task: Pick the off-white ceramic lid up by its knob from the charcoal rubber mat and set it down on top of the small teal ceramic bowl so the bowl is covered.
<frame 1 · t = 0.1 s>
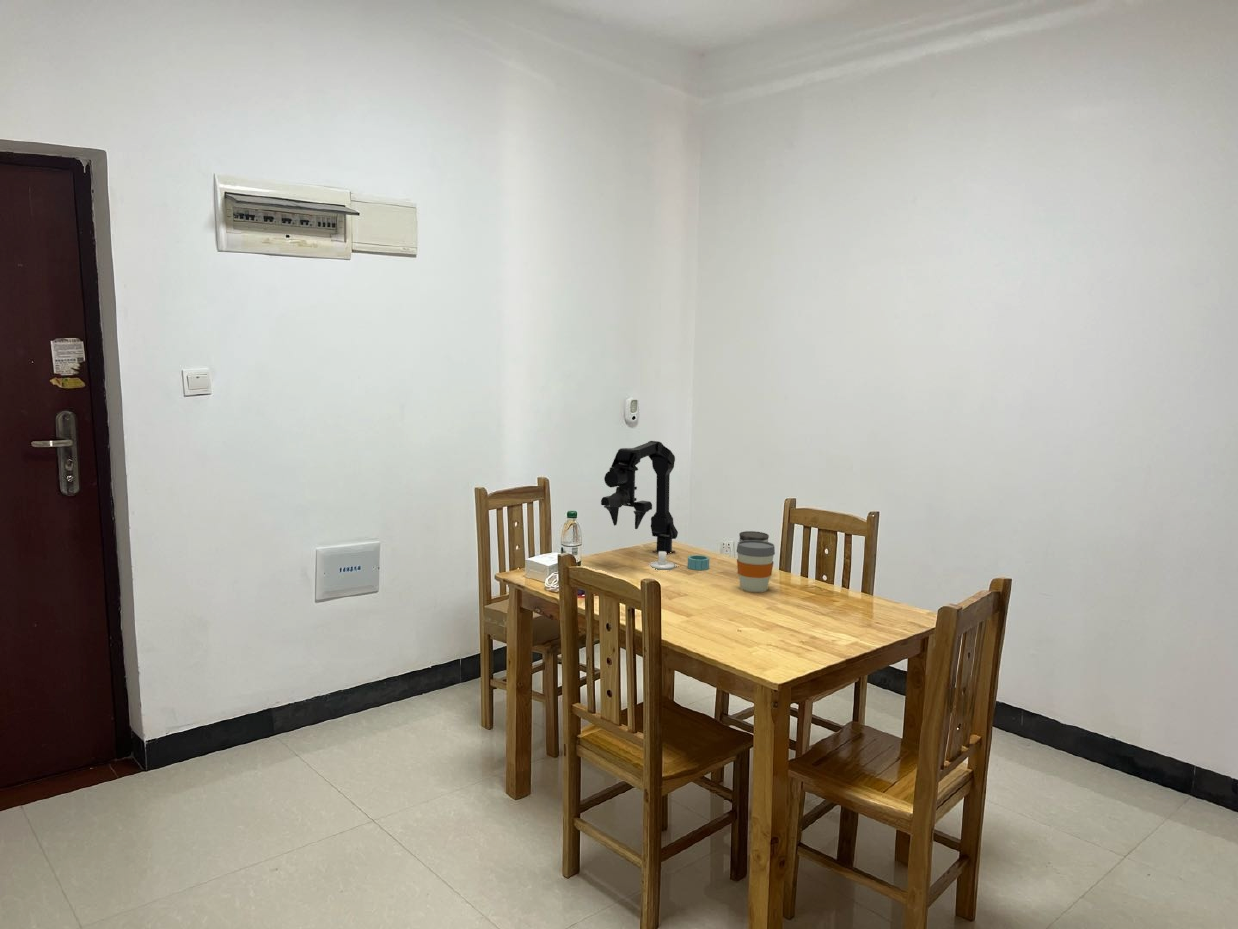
hand: (625, 527, 307), 15 cm above the table, tool pointing down, fingers open, 9 cm apart
lid: (661, 566, 310), resting on mat
reusable coffee cup: (753, 588, 286), on the table
bowl: (698, 568, 310), on the table
mat: (661, 567, 310), on the table
coffee can: (752, 573, 306), on the table
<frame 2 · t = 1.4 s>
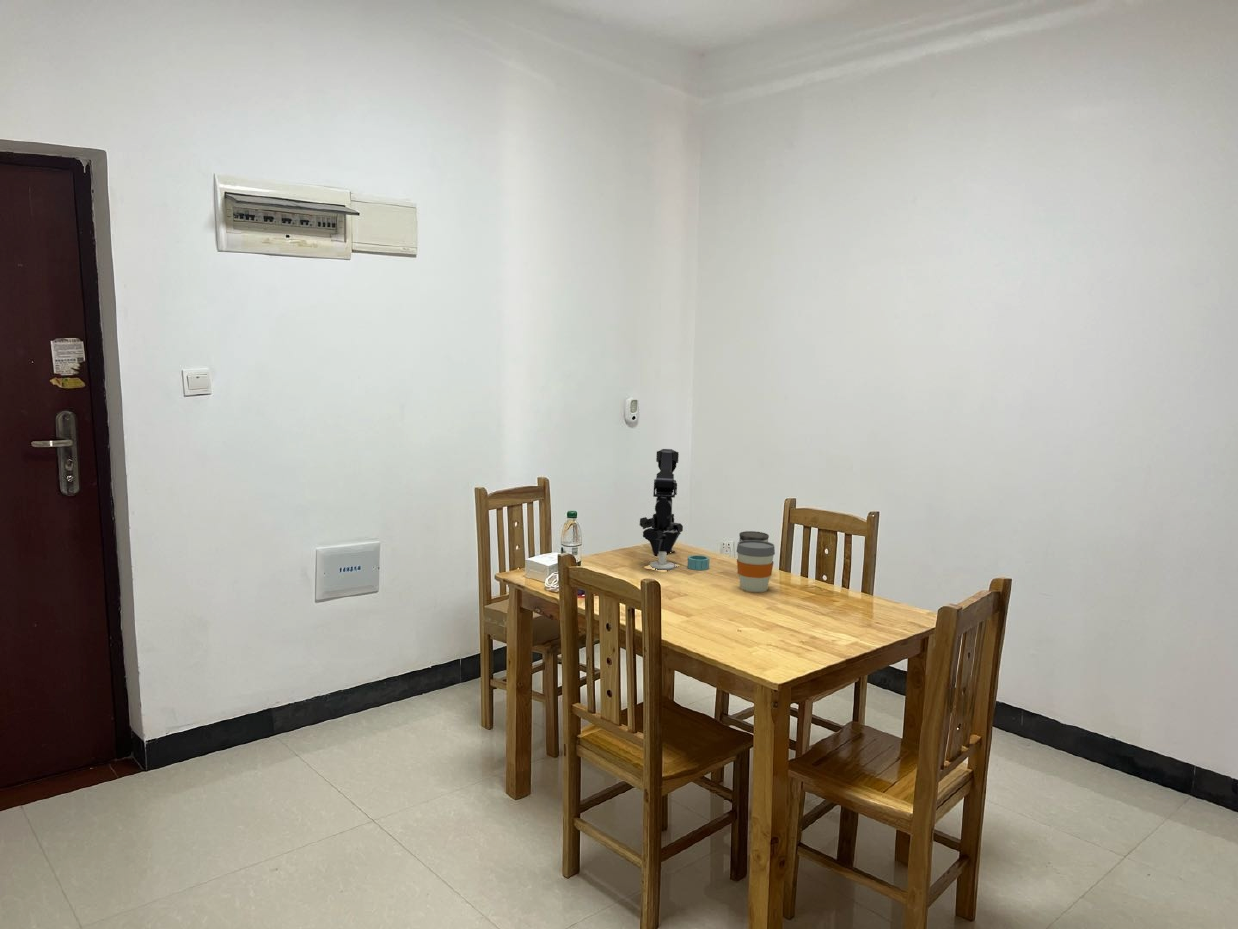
hand: (662, 553, 309), 5 cm above the table, tool pointing down, fingers open, 9 cm apart
nothing on the table moved.
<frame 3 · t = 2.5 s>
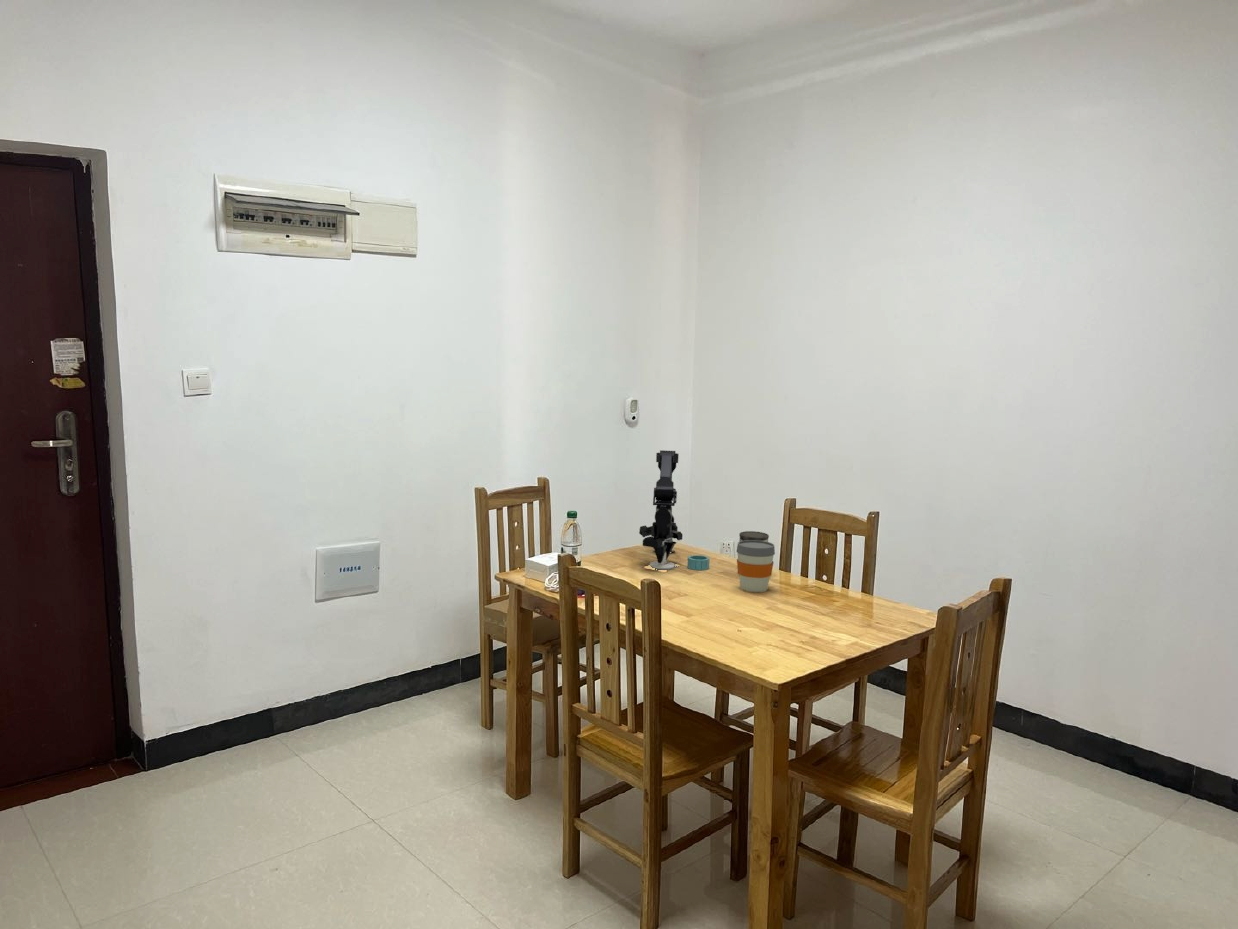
hand: (662, 562, 310), 2 cm above the table, tool pointing down, fingers closed on lid, 3 cm apart
lid: (662, 566, 310), resting on mat, touching gripper
everything else where it was.
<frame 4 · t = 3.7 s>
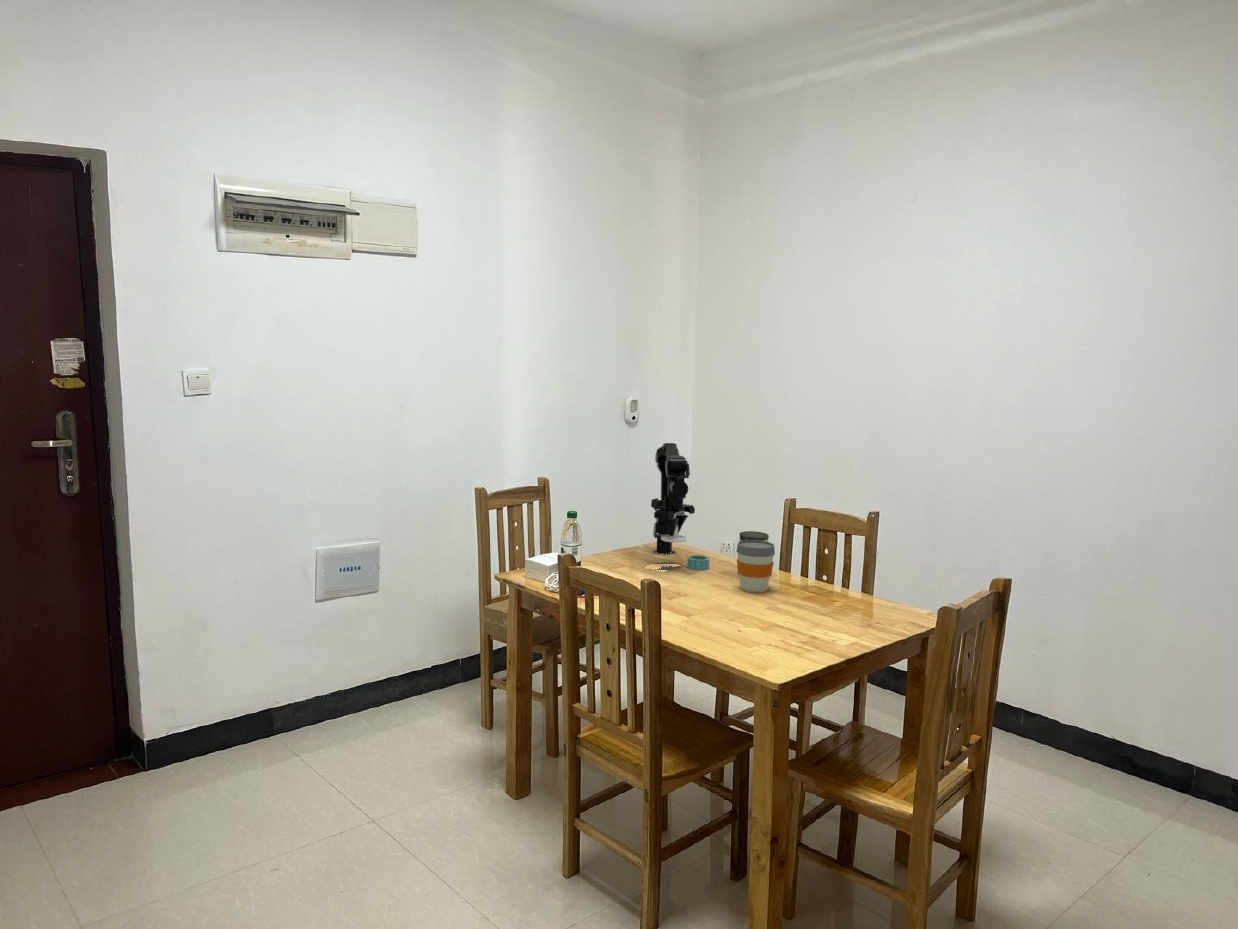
hand: (673, 535, 308), 12 cm above the table, tool pointing down, fingers closed on lid, 3 cm apart
lid: (673, 539, 308), point 10 cm above the table, touching gripper
everything else where it was.
when the fingers open (7 cm above the table, at t = 5.2 s): lid drops 1 cm, resting on bowl.
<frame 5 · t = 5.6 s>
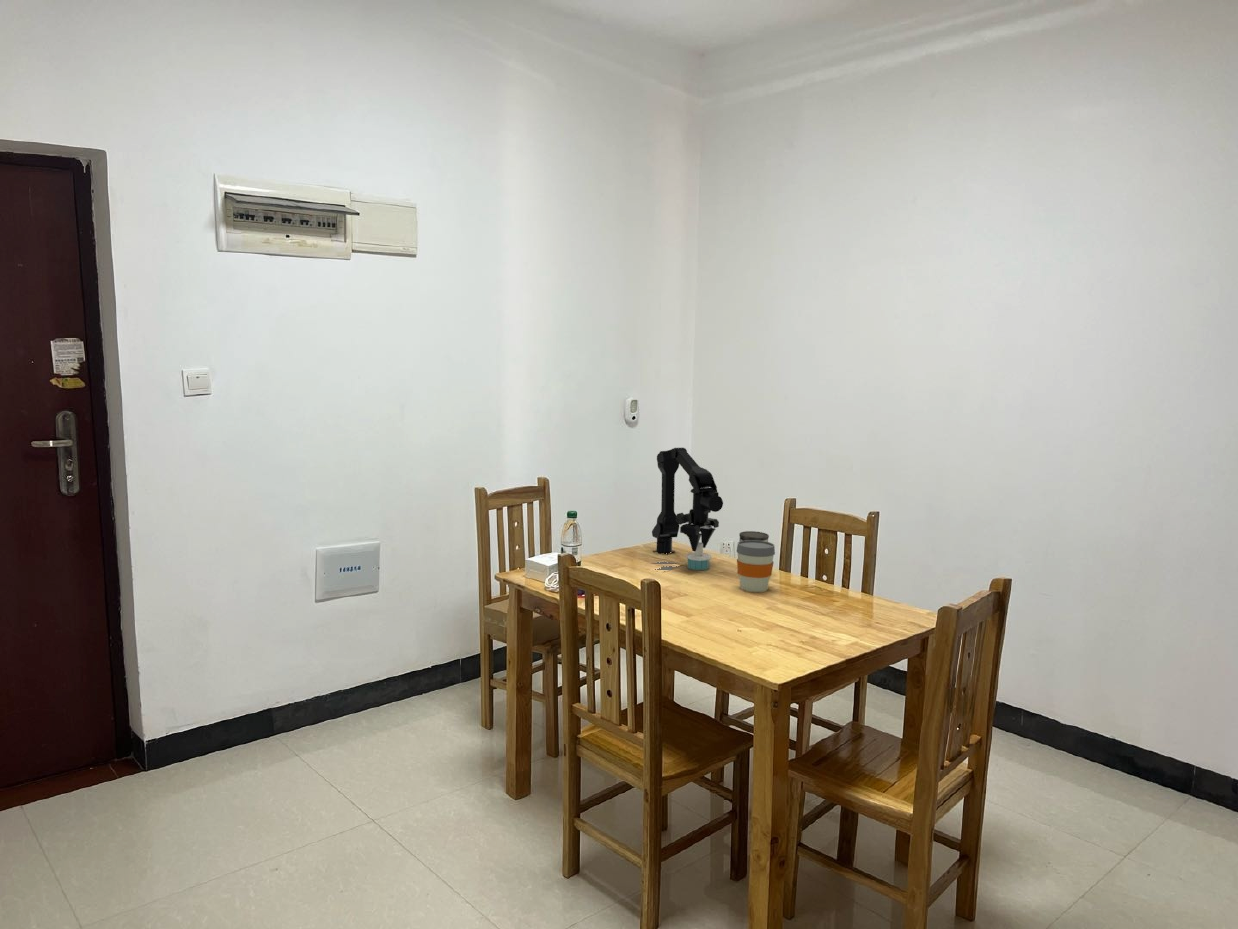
hand: (698, 549, 309), 7 cm above the table, tool pointing down, fingers open, 7 cm apart
lid: (698, 557, 309), point 4 cm above the table, touching bowl
everything else where it was.
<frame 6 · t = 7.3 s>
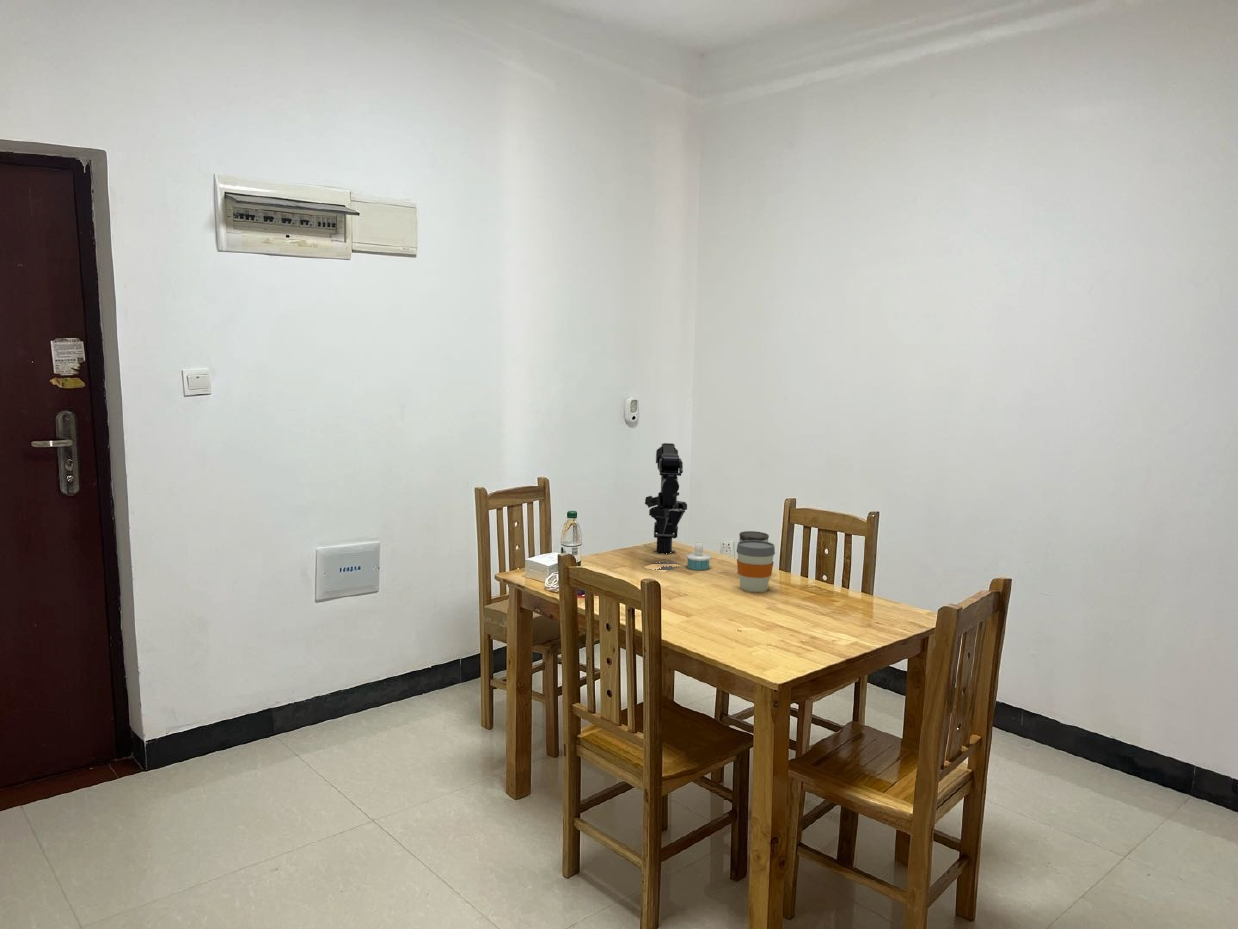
hand: (667, 532, 312), 12 cm above the table, tool pointing down, fingers open, 9 cm apart
nothing on the table moved.
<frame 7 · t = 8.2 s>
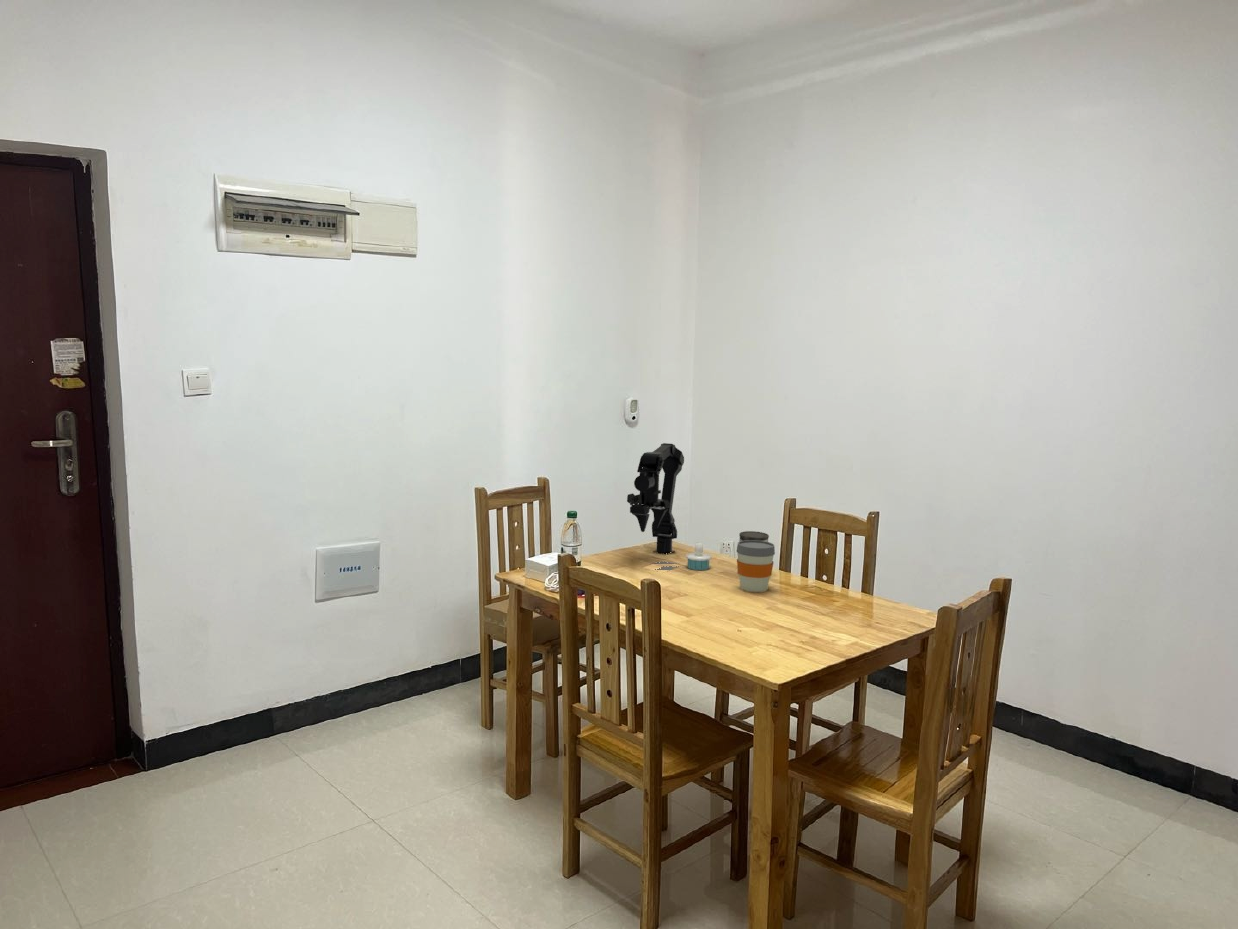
hand: (649, 529, 314), 13 cm above the table, tool pointing down, fingers open, 9 cm apart
nothing on the table moved.
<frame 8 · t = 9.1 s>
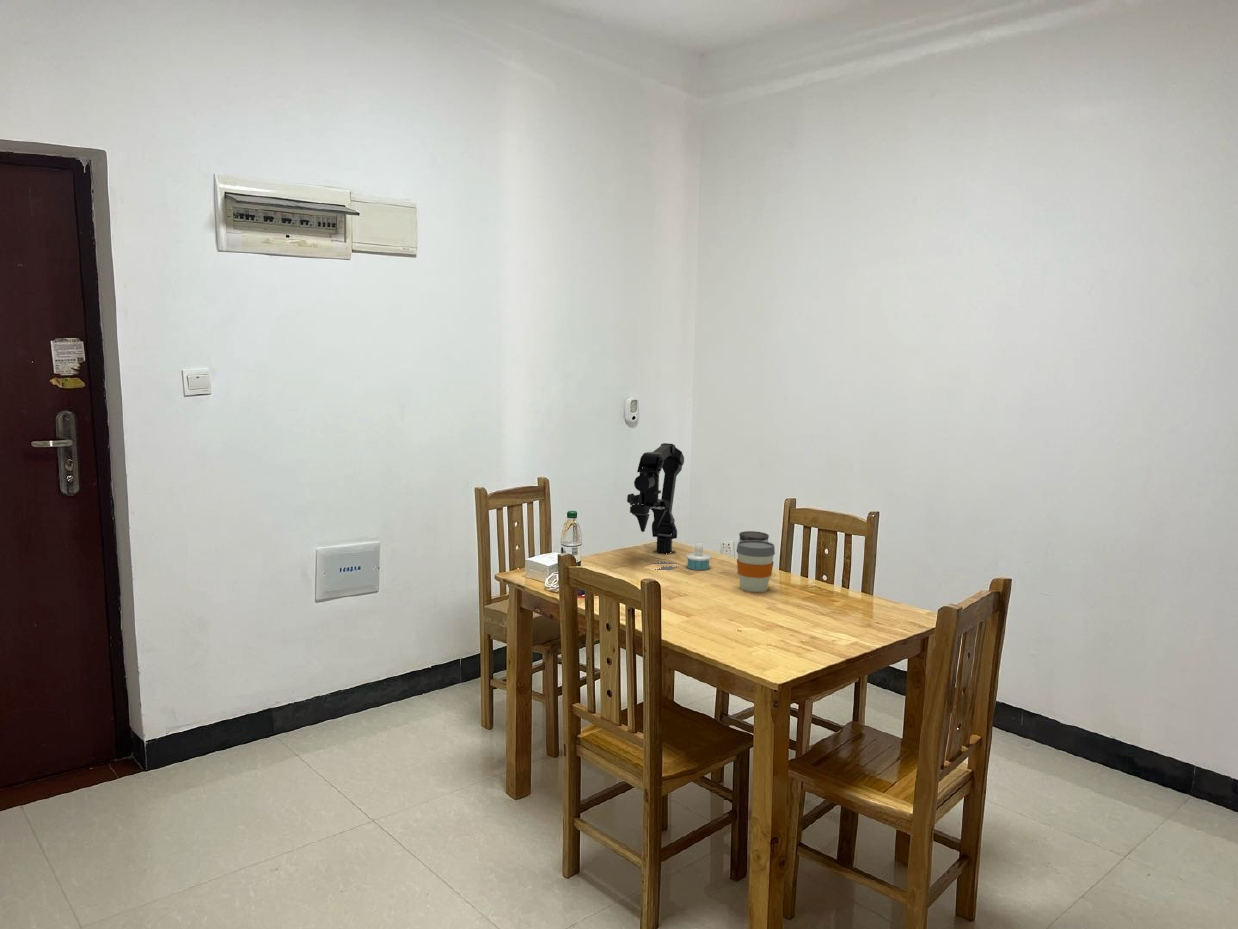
hand: (649, 529, 314), 13 cm above the table, tool pointing down, fingers open, 9 cm apart
nothing on the table moved.
at the end: lid 0.0 cm off-centre on the bowl, point 4.0 cm above the bowl's base; lid tilted 0°; the gripper is holding nothing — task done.
